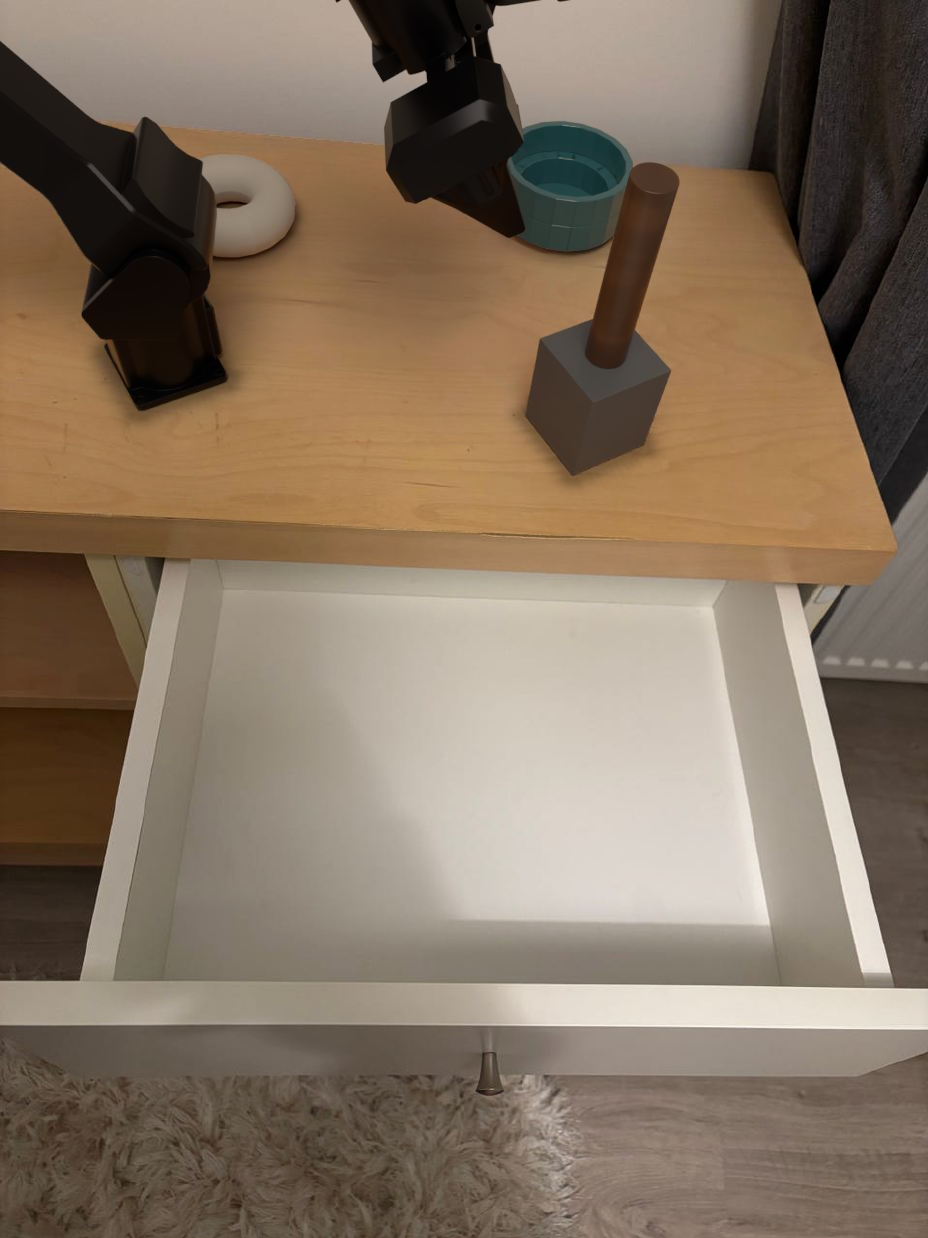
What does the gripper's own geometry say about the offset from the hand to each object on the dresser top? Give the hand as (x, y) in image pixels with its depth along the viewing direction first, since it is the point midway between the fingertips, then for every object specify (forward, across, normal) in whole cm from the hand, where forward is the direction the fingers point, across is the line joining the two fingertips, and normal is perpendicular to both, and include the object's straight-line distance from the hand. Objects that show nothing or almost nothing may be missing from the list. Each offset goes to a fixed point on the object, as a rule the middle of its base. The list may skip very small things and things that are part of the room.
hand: (509, 180), depth 52 cm
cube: (+16, -6, +2) cm, 17 cm away
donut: (+3, +15, +24) cm, 28 cm away
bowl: (+16, +17, +1) cm, 24 cm away
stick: (+10, -6, -2) cm, 12 cm away
